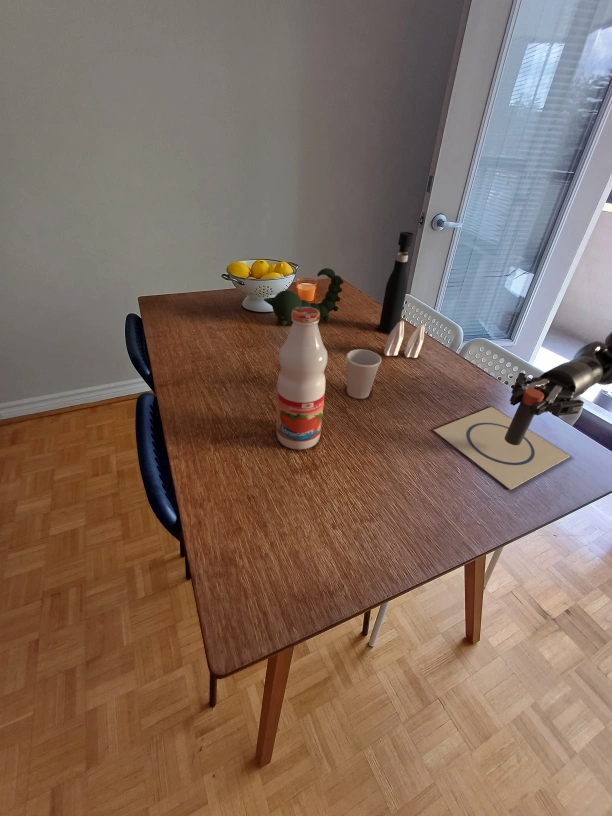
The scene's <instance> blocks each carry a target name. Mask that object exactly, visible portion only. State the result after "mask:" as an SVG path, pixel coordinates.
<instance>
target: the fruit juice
mask: <svg viewBox="0 0 612 816" xmlns="http://www.w3.org/2000/svg"><path fill="white" fill-rule="evenodd" d="M291 317H292V320H291V322H292V323H291V326H290V329H289V331H288V334H287V336H286V338H285V340H284V342H283V343H282V344H281V346H280V348H279V351H278V364H279V367H280V371H279V372H278V375H277V382H276V423H275V424H276V426H275V428H276V429H275V431H276V437H277V440H278V441H279V443H280V444H281V445H283V446H284V447H286V448H288V449H292V450H307V449H310V448H312V447H314V446H315V445H316V444H317V443H318V442H319V440H320V438H321V434H322V433H321V432H322V424H323V414H324V405H325V395H326V383H327V381H326V374H325V369H326V367H327V364H328V356H329V355H328V351H327V349H326V347H325V344H324V343H323V339H322V336H321V332H320V329H319V321H320V313H319V311H318V310H317V309H315V308H313V307H307V306H301V307H296V308H294V309H293V310H292V314H291ZM317 323H318V324H317Z"/></svg>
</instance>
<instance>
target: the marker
mask: <svg viewBox="0 0 612 816" xmlns="http://www.w3.org/2000/svg"><path fill="white" fill-rule="evenodd" d="M543 398H544V394H543V393H542V392H541V391H539V390H536V389H532V388H528V389H526V390H525V392H524V394H523V396H522V400H521V402H520V403H518V407H517V409H516V411H515V413H514V415H513V417H512V422H511V424H510V426H509V429H508V431H507V433H506V435H505V438H504V439H505V441H506V442H507V443H509V444H511V445H520V443H521V441H522V439H523V437H524V435H525V433H526V431H527V429H528V430H529V427H530V425H531V423H532V421H533V419H534V417H535V415H534V416H532V415H530V414H529V413H530V411H531V409H532V407H533V406H534V405H535V404H537V403H538V402H540V401H542V400H543Z"/></svg>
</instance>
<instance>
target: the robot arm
mask: <svg viewBox="0 0 612 816" xmlns="http://www.w3.org/2000/svg"><path fill="white" fill-rule="evenodd" d="M596 384H598V385H602V386H608V385H611V384H612V331H611V332H609V334H607V336H606V337H605V340H604V342H602V341H599V340H593V341H590V342H587V343H586V344H584V345H583V346H581V347H580V348H579V349H578V350H577V351H576V353H575V354H574V355H573V357H572V359H571V360H569V361H567V362H562V363H561V364H559V365H557V366H554V367H553V368H550V369H549V370H547V371H545V372H544V373H542V374H541V375H540V376H539V377H538V376H537V377H536V376H534V377H532V378H529V377H527V376H526V373H525V372H519V373H518V375H517V378H516V379H515V381H514V385H513V387H512V389H511V396H510V399H509V402H510V403H509V404H510V405H511V406H516V405H519V404H520V402H521V400H522V396H523V394H524V392H525V390H526V389H528V388H532V389H536V390H539V391H541V392H542V393H543V394H544V398H543V400H542V401H540V402H538V403H537V404H535V405H534V406H533V407H532V409H531V411H530V413H529V414H530V415H532V416H534V417H535V416H540V415H543V414H544V413H548V412H550V413H551V415H552V416H555V417H560V416H569V415H575V414H576V415H577V414H579V412H580V411H581V410H582V408H583V405H584V404H585V401H583V400H582V399H576V398H577V397H579V396H581V395H583V394H584V393H585V392H587V391H588V389H590V388H591V387H593V386H594V385H596Z"/></svg>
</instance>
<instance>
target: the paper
mask: <svg viewBox="0 0 612 816" xmlns="http://www.w3.org/2000/svg"><path fill="white" fill-rule="evenodd" d="M512 420H513V418H510V417H509V416H507V415H506V414H504V413H503V412H501V411H499V410H497V408H494V407H493V406H490V407H488V408H485V409H483V410H480V411H478V412H475V413H472V414H470V415H467V416H465V417H463V418H460V419H457V420H454V421H452V422H450V423H447V424H444V425H442V426H439V427H437V428H435V429H433V430H432V431H433V432H434V433H436V434H437V435H438V436H439V437H441V438H442V439H443V440H445V441H446V442H447V443H449V444H450V445H451V446H452V447H454V448H455V449H457V450H458V451H459V452H460V453H461V454H463V455H464V456H465V457H467V458H468V459H469V460H470V461H472V462H473V463H475V465H477V466H479V468H480V469H482V470H484V471H485V472H486V473H487V474H489V475H490V476H491V477H493V478H494V479H495V480H496V481H497V482H499V483H500V484H502V486H504V487H505V488H507V489H508V490H509V491H511V490H513V489H515V488H517V487H518V486H520V485H522V484H524V483H525V482H527V481H529V480H531V479H532V478H534V477H536V476H538V475H539V474H541V473H543V472H545V471H547V470H549V469H550V468H552V467H555V466H556V465H558V464H559V463H562V462H563V461H565V460H566V459H568V458H570V455H569V454H567V453H566V452H564V451H562V450H561V449H559V448H558V447H556V446H555V445H553V444H552V443H550V442H548V441H546V440H545V439H543V437H541V436H539V435H537V434H536V433H534V432H533V431H531V430H529V428H528V429H527V431H526V433H525V435H524V437H523V439H522V441H521V443H520V445H511V444H509V443H507V442H506V441H505V439H504V438H505V435H506V433H507V431H508V429H509V426H510V424H511V422H512Z"/></svg>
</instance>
